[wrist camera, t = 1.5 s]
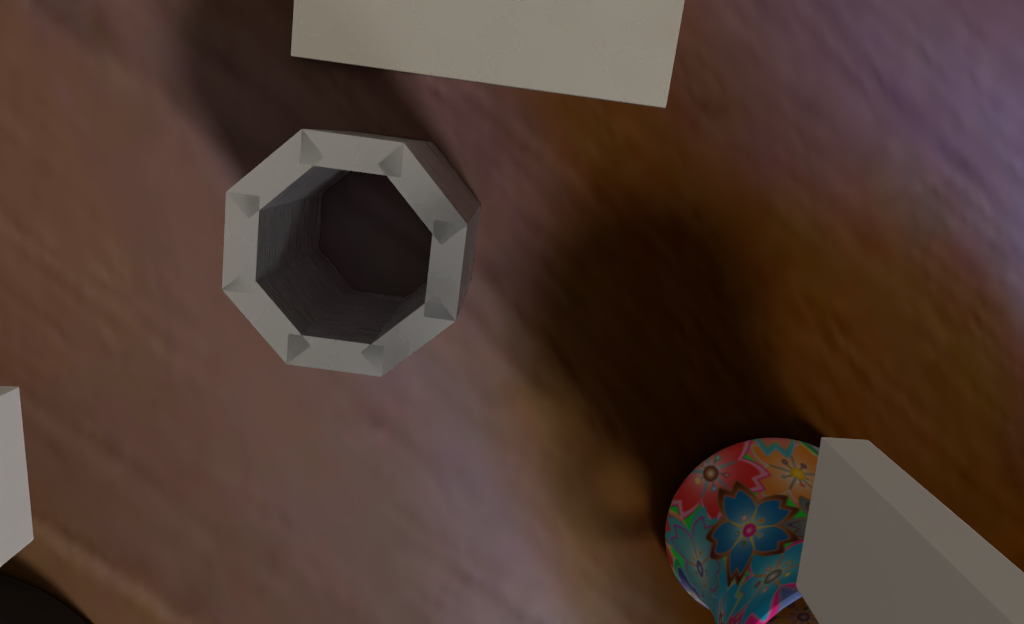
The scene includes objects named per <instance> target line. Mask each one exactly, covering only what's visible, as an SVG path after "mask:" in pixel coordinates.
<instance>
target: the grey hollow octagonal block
mask: <svg viewBox="0 0 1024 624" xmlns="http://www.w3.org/2000/svg"><path fill="white" fill-rule="evenodd" d="M350 171H356V172H364V173H371V174H378V175H386V176H387V177H388V178H389V179H390V181H391V182H392V183H393V184H394V186H395V187H396V188H397V190H398V191H399V192H400V193H401V195H402V196H403V197H404V198H405V200H406V201H407V202H408V203H409V205H410V206H411V207H412V209H413V210H414V211H415V212H416V214H417V215H418V216H419V217H420V219H421V220H422V221H423V223H424V224H425V225H426V226H427V228H428V229H429V230H430V231H431V233H432V242H431V252H430V261H429V270H428V279H427V282H425V283H424V284H423V285H422V286H420V287H419V288H418V289H416V290H415V291H414V292H412V293H411V294H410V295H408V296H407V297H403V296H395V295H388V294H380V293H373V292H365V291H358V290H353V289H352V288H351V286H350V285H349V284H348V283H347V281H346V280H345V279H344V278H343V277H342V275H341V274H340V273H339V272H338V271H337V269H336V268H335V267H334V266H333V265H332V263H331V262H330V261H329V260H328V258H327V257H326V256H325V255H324V254H323V252H322V251H321V250H320V249H319V236H320V222H321V208H322V194H323V193H324V192H325V191H326V190H328V189H329V188H330V187H331V186H332V185H334V184H335V183H336V182H337V181H339V180H340V179H341V178H342V177H344V176H345V175H346V174H347V173H348V172H350ZM480 207H481V204H480V203H479V201H478V200H477V199H476V197H475V196H474V195H473V193H472V192H471V191H470V190H469V188H468V187H467V186H466V184H465V183H464V182H463V180H462V179H461V178H460V176H459V175H458V174H457V173H456V171H455V170H454V169H453V167H452V166H451V165H450V163H449V162H448V161H447V160H446V158H445V157H444V156H443V154H442V153H441V152H440V150H439V149H438V148H437V147H436V145H435V144H434V143H433V142H428V141H421V140H414V139H406V138H399V137H392V136H384V135H377V134H370V133H363V132H356V131H337V130H318V129H301V130H300V131H299V132H297V133H296V134H295V135H294V136H293V137H291V138H290V139H289V140H288V141H287V142H285V143H284V144H283V145H282V146H281V147H279V148H278V149H277V150H276V151H275V152H273V153H272V154H271V155H270V156H269V157H267V158H266V159H265V160H264V161H263V162H261V163H260V164H259V165H258V166H257V167H255V168H254V169H253V170H252V171H251V172H249V173H248V174H247V175H246V176H245V177H243V178H242V179H241V180H240V181H239V182H237V183H236V184H235V185H234V186H233V187H231V188H230V189H229V190H228V191H227V192H226V209H225V232H224V256H223V280H222V290H223V291H224V292H225V294H226V295H227V296H228V297H229V298H230V299H231V301H232V302H233V303H234V304H235V305H236V306H237V307H238V309H239V310H240V311H241V312H242V313H243V314H244V316H245V317H246V318H247V319H248V320H249V321H250V322H251V324H252V325H253V326H254V327H255V328H256V329H257V331H258V332H259V333H260V334H261V335H262V336H263V337H264V339H265V340H266V341H267V342H268V343H269V344H270V346H271V347H272V348H273V349H274V350H275V351H276V352H277V354H278V355H279V356H280V357H281V358H282V359H283V361H284V362H285V363H286V364H290V365H297V366H305V367H312V368H320V369H327V370H335V371H343V372H350V373H358V374H365V375H373V376H380V377H382V376H383V375H384V374H385V373H387V372H388V371H389V370H391V369H392V368H393V367H395V366H396V365H397V364H399V363H400V362H402V361H403V360H404V359H406V358H407V357H408V356H410V355H411V354H412V353H414V352H415V351H416V350H418V349H419V348H420V347H422V346H423V345H424V344H426V343H427V342H428V341H430V340H431V339H432V338H434V337H435V336H436V335H438V334H439V333H440V332H442V331H443V330H444V329H446V328H447V327H448V326H450V325H451V324H452V323H454V322H455V321H456V319H457V317H458V314H459V311H460V309H461V306H462V303H463V301H464V298H465V295H466V293H467V290H468V288H469V285H470V282H471V280H472V272H473V264H474V256H475V248H476V240H477V232H478V224H479V215H480Z"/></svg>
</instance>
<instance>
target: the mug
mask: <svg viewBox="0 0 1024 624" xmlns="http://www.w3.org/2000/svg"><path fill="white" fill-rule="evenodd" d="M819 449H820V448H818V447H816V446H813V445H811V444H808V443H805V442H802V441H798V440H793V439H787V438H759V439H753V440H748V441H744V442H740V443H737V444H734V445H731V446H729V447H727V448H724V449H722V450H720V451H718V452H717V453H715V454H713V455H711V456H710V457H709V458H707V459H706V460H704V461H703V462H702V463H701V464H699V465H698V466H697V467H696V468H695V469H694V470H693V471H692V472H691V473H690V474H689V475H688V476H687V478H686V479H685V480H684V481H683V483H682V484H681V486H680V487H679V489H678V490H677V492H676V494H675V496H674V498H673V500H672V503H671V505H670V508H669V512H668V515H667V521H666V528H665V545H666V551H667V556H668V559H669V563H670V565H671V568H672V570H673V572H674V574H675V576H676V578H677V579H678V581H679V582H680V584H681V585H682V586H683V587H684V589H685V590H686V591H687V592H688V593H689V594H690V595H691V596H692V597H693V598H694V599H695V600H696V601H698V602H699V603H700V604H701V605H703V606H704V607H706V608H708V609H709V610H711V612H712V614H713V616H714V618H715V621H716V624H819V622H818V621H817V619H816V617H815V616H814V614H813V613H812V611H811V609H810V608H809V606H808V605H807V603H806V601H805V600H804V598H803V597H802V595H801V593H800V592H799V590H798V589H797V587H796V583H797V577H798V571H799V565H800V559H801V553H802V548H803V542H804V536H805V530H806V524H807V519H808V513H809V507H810V501H811V495H812V490H813V484H814V478H815V472H816V466H817V460H818V455H819Z"/></svg>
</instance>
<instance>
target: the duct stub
mask: <svg viewBox="0 0 1024 624" xmlns="http://www.w3.org/2000/svg"><path fill="white" fill-rule="evenodd" d="M684 1H685V0H294V10H293V27H292V44H291V56H293V57H297V58H304V59H311V60H318V61H326V62H333V63H340V64H347V65H355V66H362V67H369V68H376V69H383V70H391V71H398V72H405V73H412V74H420V75H427V76H434V77H441V78H448V79H456V80H463V81H470V82H477V83H484V84H492V85H499V86H506V87H513V88H521V89H528V90H535V91H542V92H549V93H557V94H564V95H571V96H578V97H585V98H593V99H600V100H607V101H614V102H622V103H629V104H636V105H643V106H650V107H658V108H666V103H667V97H668V92H669V86H670V80H671V75H672V69H673V63H674V58H675V52H676V46H677V41H678V35H679V29H680V24H681V18H682V12H683V7H684Z"/></svg>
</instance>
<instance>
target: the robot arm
mask: <svg viewBox="0 0 1024 624" xmlns="http://www.w3.org/2000/svg"><path fill="white" fill-rule="evenodd" d="M33 540H34V538H33V528H32V518H31V507H30V497H29V487H28V476H27V466H26V456H25V445H24V435H23V425H22V414H21V404H20V394H19V387H9V386H0V567H1V566H2V565H3V564H5V563H6V562H7V561H8V560H9V559H11V558H12V557H13V556H14V555H15V554H17V553H18V552H19V551H20V550H22V549H23V548H24V547H25V546H26V545H28V544H29V543H30V542H31V541H33ZM796 587H797V589H798V590H799V592H800V593H801V595H802V597H803V598H804V600H805V601H806V603H807V605H808V606H809V608H810V609H811V611H812V613H813V614H814V616H815V617H816V619H817V621H818V622H819V624H1024V573H1023V572H1022V571H1021V570H1020V569H1019V568H1018V567H1016V566H1015V565H1014V564H1013V563H1012V562H1011V561H1009V560H1008V559H1007V558H1006V557H1005V556H1003V555H1002V554H1001V553H1000V552H999V551H998V550H996V549H995V548H994V547H993V546H992V545H991V544H989V543H988V542H987V541H986V540H985V539H984V538H982V537H981V536H980V535H979V534H978V533H976V532H975V531H974V530H973V529H972V528H971V527H969V526H968V525H967V524H966V523H965V522H964V521H962V520H961V519H960V518H959V517H958V516H957V515H955V514H954V513H953V512H952V511H951V510H949V509H948V508H947V507H946V506H945V505H944V504H942V503H941V502H940V501H939V500H938V499H937V498H935V497H934V496H933V495H932V494H931V493H930V492H928V491H927V490H926V489H925V488H924V487H922V486H921V485H920V484H919V483H918V482H917V481H915V480H914V479H913V478H912V477H911V476H910V475H908V474H907V473H906V472H905V471H904V470H903V469H901V468H900V467H899V466H898V465H897V464H895V463H894V462H893V461H892V460H891V459H890V458H888V457H887V456H886V455H885V454H884V453H883V452H881V451H880V450H879V449H878V448H877V447H876V446H874V445H873V444H872V443H871V442H870V441H868V440H859V439H843V438H827V437H821V443H820V449H819V455H818V460H817V466H816V472H815V478H814V484H813V490H812V495H811V501H810V507H809V513H808V519H807V524H806V530H805V536H804V542H803V548H802V553H801V559H800V565H799V571H798V577H797V583H796ZM0 624H87V623H86V622H85V621H84V620H82V619H81V618H80V617H79V616H78V615H77V614H75V613H74V612H73V611H72V610H70V609H69V608H68V607H66V606H65V605H64V604H62V603H61V602H59V601H58V600H56V599H55V598H53V597H51V596H50V595H48V594H46V593H45V592H43V591H41V590H39V589H37V588H35V587H33V586H31V585H29V584H26V583H24V582H22V581H19V580H16V579H14V578H11V577H8V576H5V575H2V574H0Z"/></svg>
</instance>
